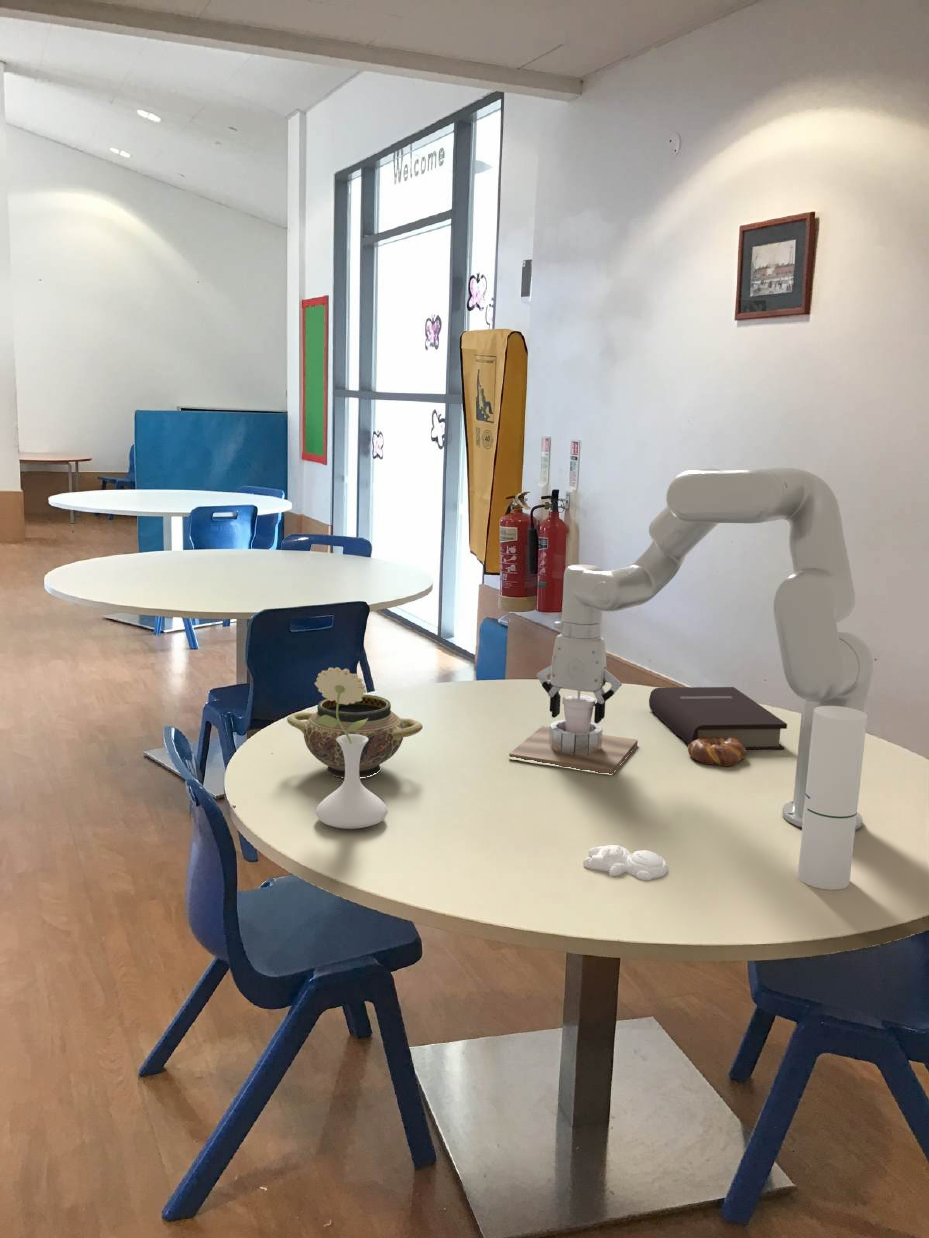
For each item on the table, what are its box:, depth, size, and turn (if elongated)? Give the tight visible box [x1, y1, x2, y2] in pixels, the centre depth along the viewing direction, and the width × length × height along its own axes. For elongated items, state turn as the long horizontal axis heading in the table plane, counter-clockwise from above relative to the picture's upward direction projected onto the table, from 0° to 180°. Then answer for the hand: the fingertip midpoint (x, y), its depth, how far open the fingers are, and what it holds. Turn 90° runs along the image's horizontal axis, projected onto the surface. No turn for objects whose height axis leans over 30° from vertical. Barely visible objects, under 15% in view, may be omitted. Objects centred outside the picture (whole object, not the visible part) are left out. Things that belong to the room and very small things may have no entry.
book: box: [648, 686, 788, 752], centre depth 227 cm, size 28×20×6 cm
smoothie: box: [561, 691, 596, 733], centre depth 207 cm, size 6×6×14 cm
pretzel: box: [687, 737, 747, 767], centre depth 208 cm, size 12×11×4 cm
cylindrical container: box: [797, 706, 868, 891], centre depth 153 cm, size 7×7×25 cm
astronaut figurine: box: [582, 844, 668, 881], centre depth 158 cm, size 9×12×3 cm
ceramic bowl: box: [286, 694, 423, 778], centre depth 193 cm, size 24×18×15 cm
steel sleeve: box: [549, 718, 603, 755], centre depth 209 cm, size 10×10×4 cm
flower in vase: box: [314, 666, 388, 830], centre depth 170 cm, size 13×11×25 cm
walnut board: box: [508, 725, 639, 774], centre depth 209 cm, size 20×20×1 cm
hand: (576, 718), depth 208 cm, fingers open, 8 cm apart
